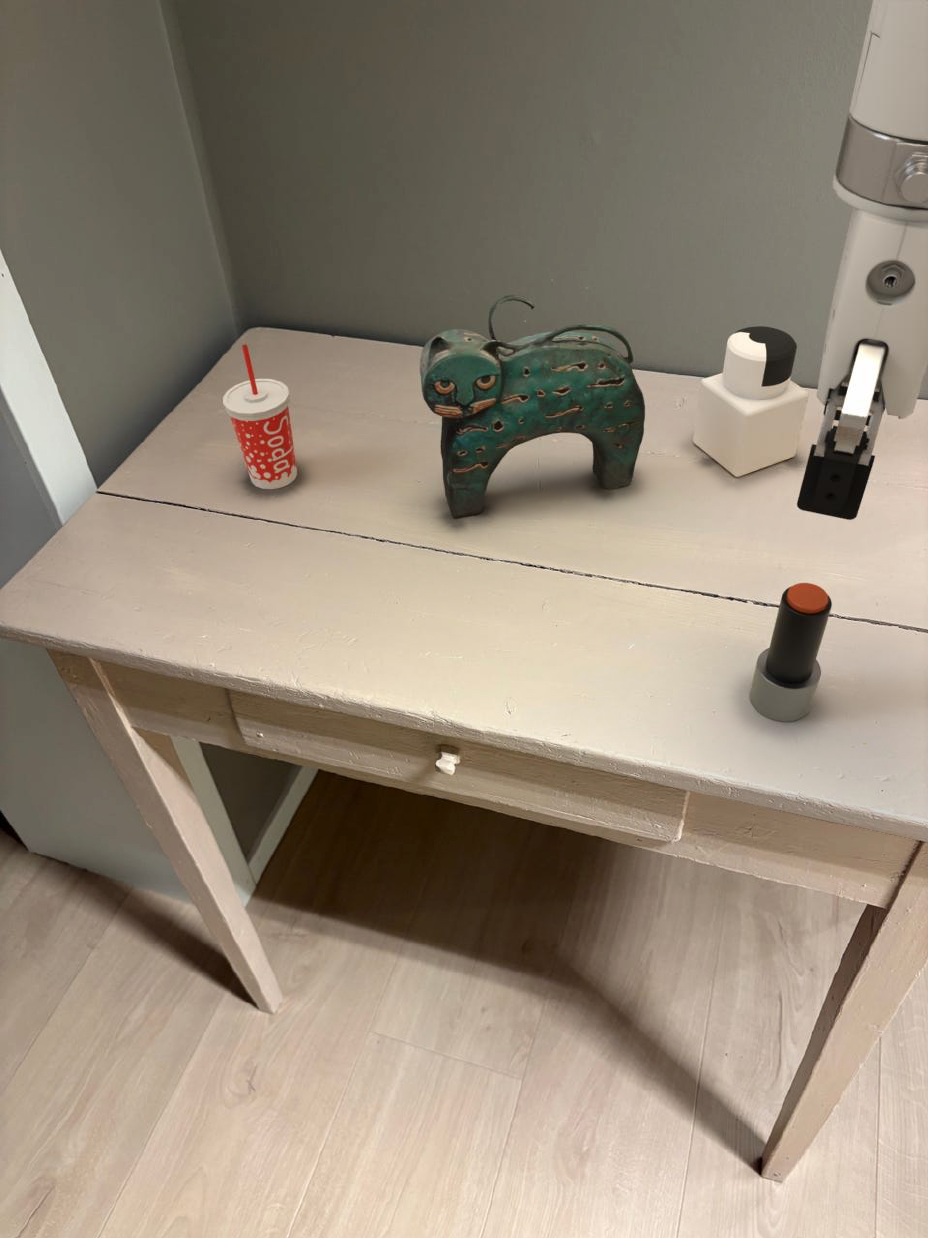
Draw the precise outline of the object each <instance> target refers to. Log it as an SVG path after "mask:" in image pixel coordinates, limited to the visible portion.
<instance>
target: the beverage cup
mask: <svg viewBox="0 0 928 1238" xmlns="http://www.w3.org/2000/svg"><path fill="white" fill-rule="evenodd" d="M241 348H242V353H243V357H244V361H245V366H246V369H247V374H248V380H245V381H242V382H240V383H237V384H235V385H233V386H232V387H231V388H229V389H228V390H227V391H226V392H225V393H224V395H223V397H222V402H223V403H222V404H223V407H224V408H225V413H227V414H228V416H229V418H230V420H231V423H232V427H233V430H234V432H235V435H236V439H237V442H238V445H239V447H240V451H241V454H242V458H243V459H244V463H245V466H246V469H247V472H248V476H249V479H250V482H251V483H252V484H253V485H254V486H255V487H257V488H259V489H262V490H277V489H281V488H284V487H287V486H288V485H290V484H292V483H293V482H294V481H295V480H296V478H297V476H298V469H297V461H296V453H295V445H294V439H293V432H292V431H293V430H292V423H291V417H290V409H289V404H290V402H291V398H290V392H289V387H288V386H287V385H286V384H285V383H284V382H282V381H279V380H277V379H273V378H255V373H254V370H253V365H252V361H251V357H250V351H249V348H248V344H245V343H244V344H241Z"/></svg>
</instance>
